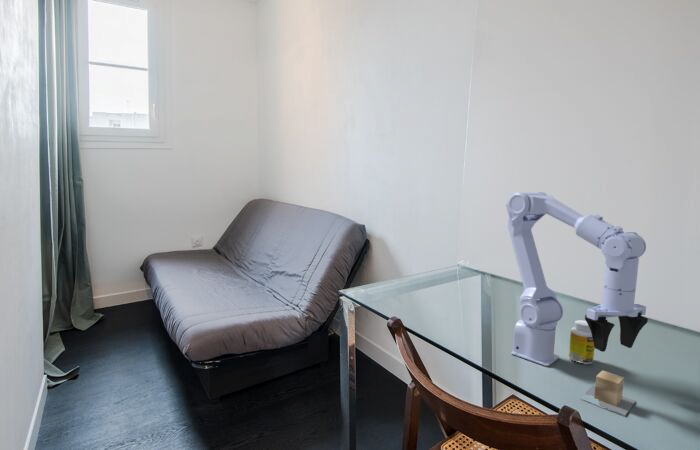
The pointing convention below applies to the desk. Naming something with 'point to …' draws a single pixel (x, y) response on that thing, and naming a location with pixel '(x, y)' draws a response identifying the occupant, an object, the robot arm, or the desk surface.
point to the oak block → (609, 388)
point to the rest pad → (620, 408)
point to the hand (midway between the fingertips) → (613, 347)
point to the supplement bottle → (581, 343)
